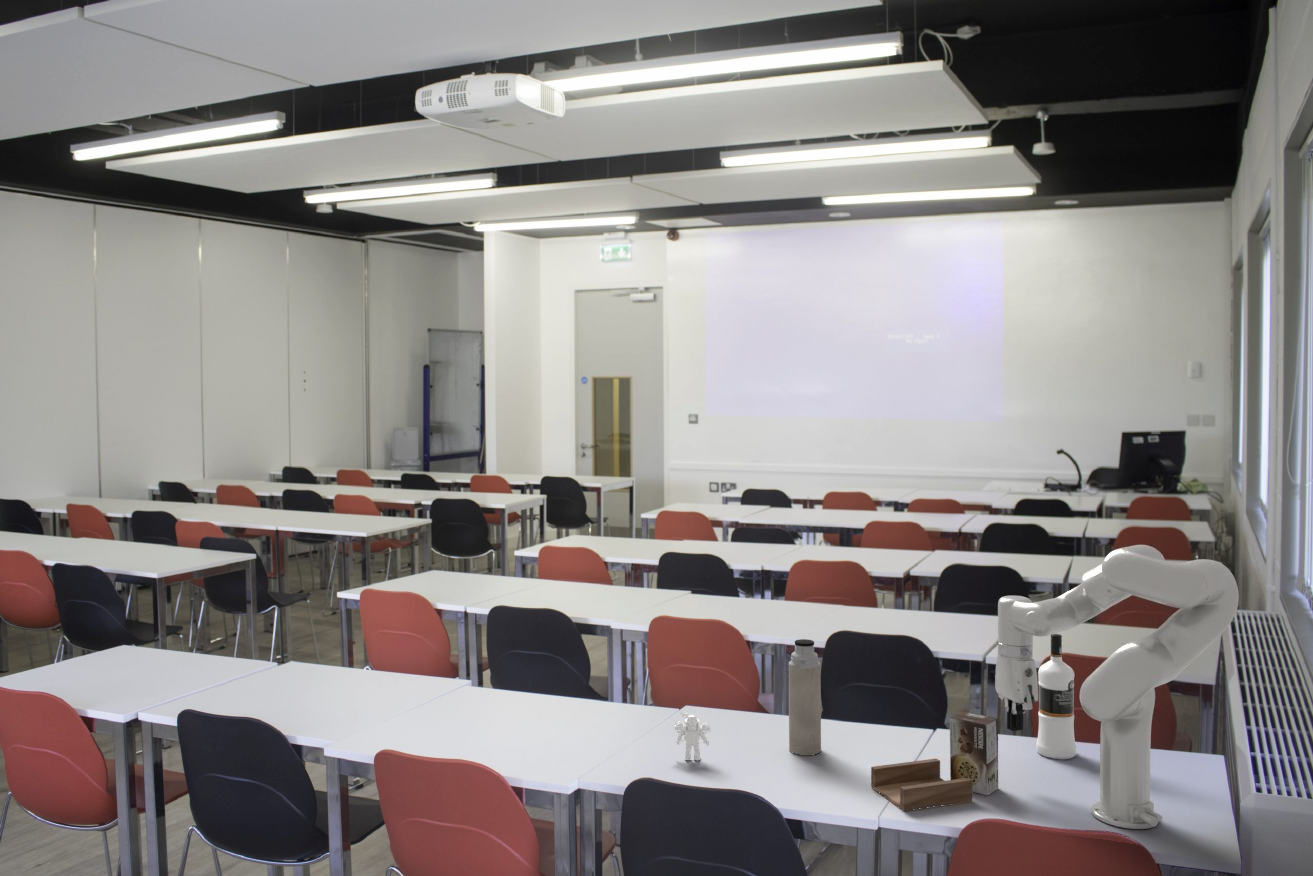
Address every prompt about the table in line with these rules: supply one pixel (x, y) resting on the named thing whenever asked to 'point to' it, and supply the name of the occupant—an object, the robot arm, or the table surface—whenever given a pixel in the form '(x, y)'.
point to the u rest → (919, 785)
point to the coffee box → (974, 750)
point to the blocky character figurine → (692, 735)
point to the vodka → (1056, 706)
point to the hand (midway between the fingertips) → (1015, 729)
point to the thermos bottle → (804, 699)
